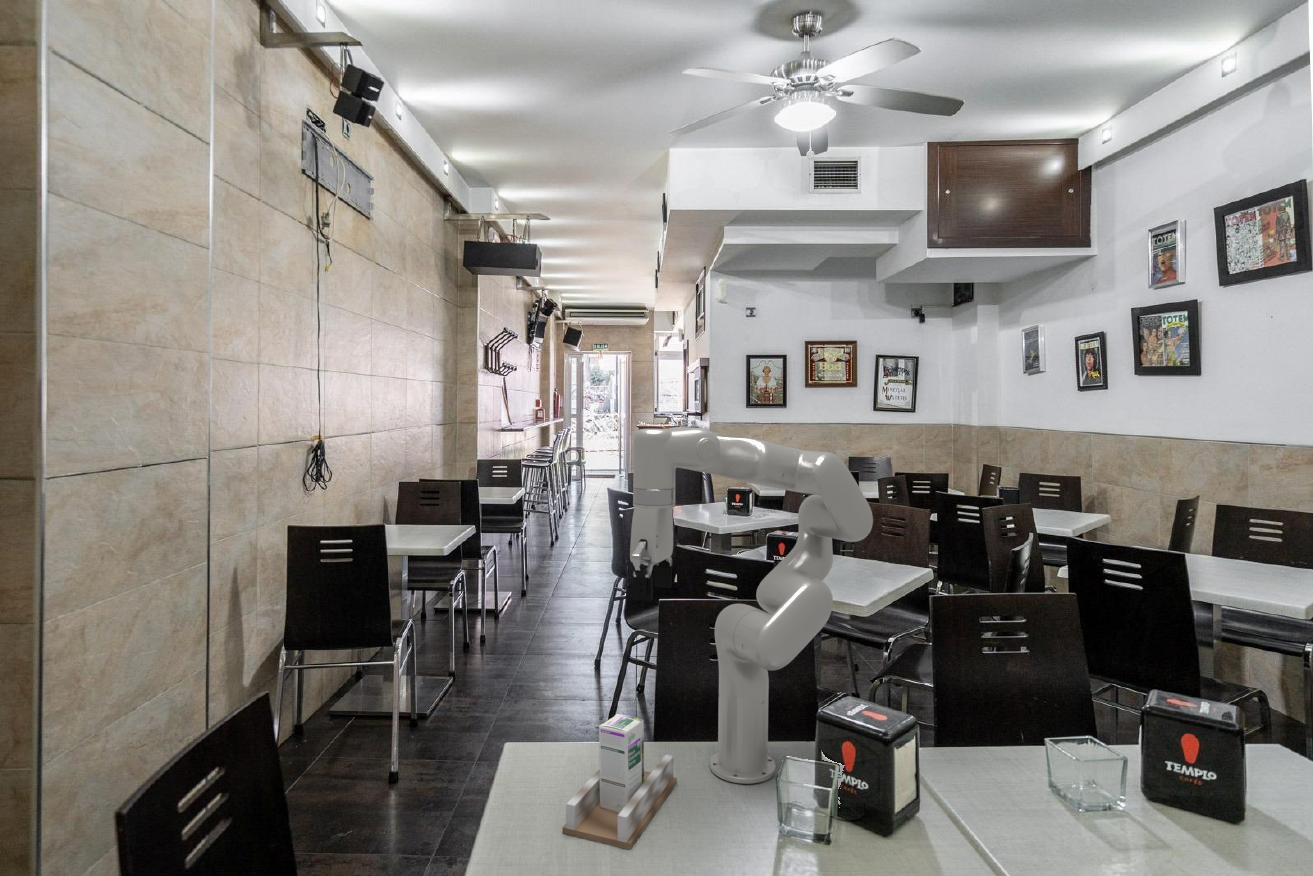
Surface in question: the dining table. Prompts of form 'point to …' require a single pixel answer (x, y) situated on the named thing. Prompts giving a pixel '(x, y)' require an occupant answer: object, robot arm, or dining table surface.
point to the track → (633, 818)
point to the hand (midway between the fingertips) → (653, 593)
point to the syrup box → (620, 760)
